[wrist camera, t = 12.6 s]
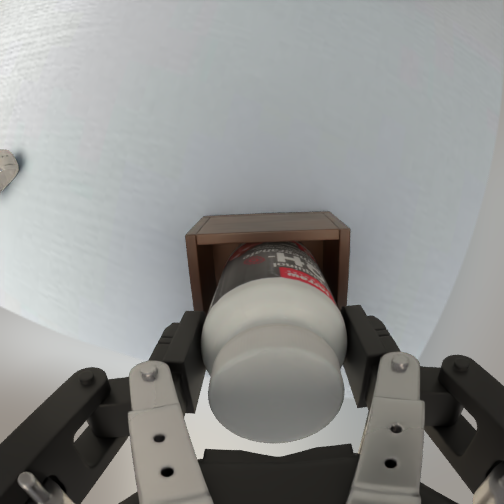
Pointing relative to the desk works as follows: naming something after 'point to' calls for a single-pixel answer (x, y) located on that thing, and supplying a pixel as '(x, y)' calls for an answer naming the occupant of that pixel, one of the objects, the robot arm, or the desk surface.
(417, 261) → the desk surface
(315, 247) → the holder
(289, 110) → the desk surface
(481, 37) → the desk surface
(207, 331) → the pill bottle
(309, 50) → the desk surface
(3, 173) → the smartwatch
